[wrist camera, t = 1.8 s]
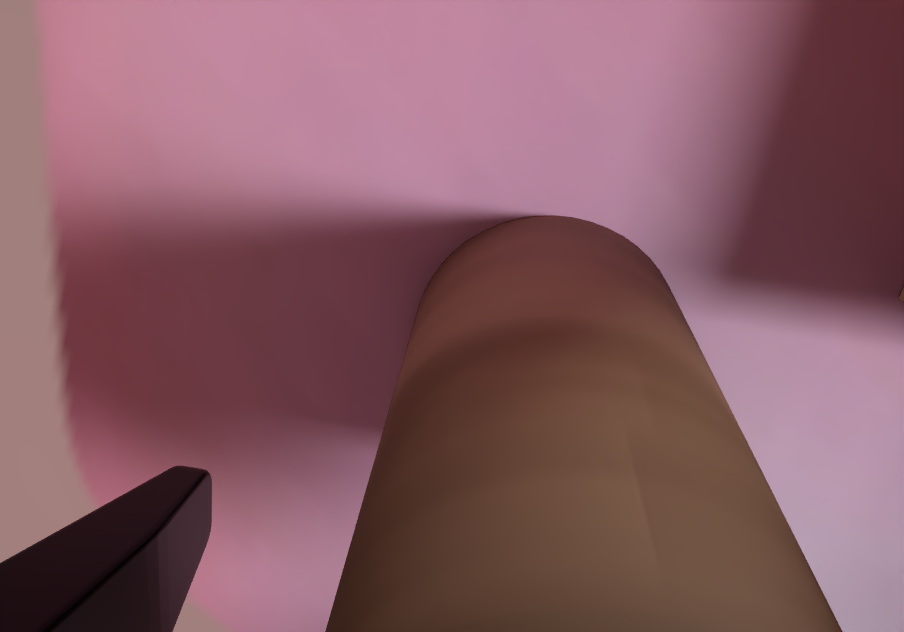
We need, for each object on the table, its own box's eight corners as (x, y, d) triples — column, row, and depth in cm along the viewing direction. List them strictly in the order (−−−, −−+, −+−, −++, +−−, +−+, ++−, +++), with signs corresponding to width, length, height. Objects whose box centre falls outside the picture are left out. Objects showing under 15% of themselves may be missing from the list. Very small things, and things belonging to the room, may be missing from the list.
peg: (641, 469, 15) (789, 1039, 7) (400, 429, 15) (270, 952, 7) (712, 240, 13) (1041, 676, 5) (433, 195, 13) (301, 553, 5)
